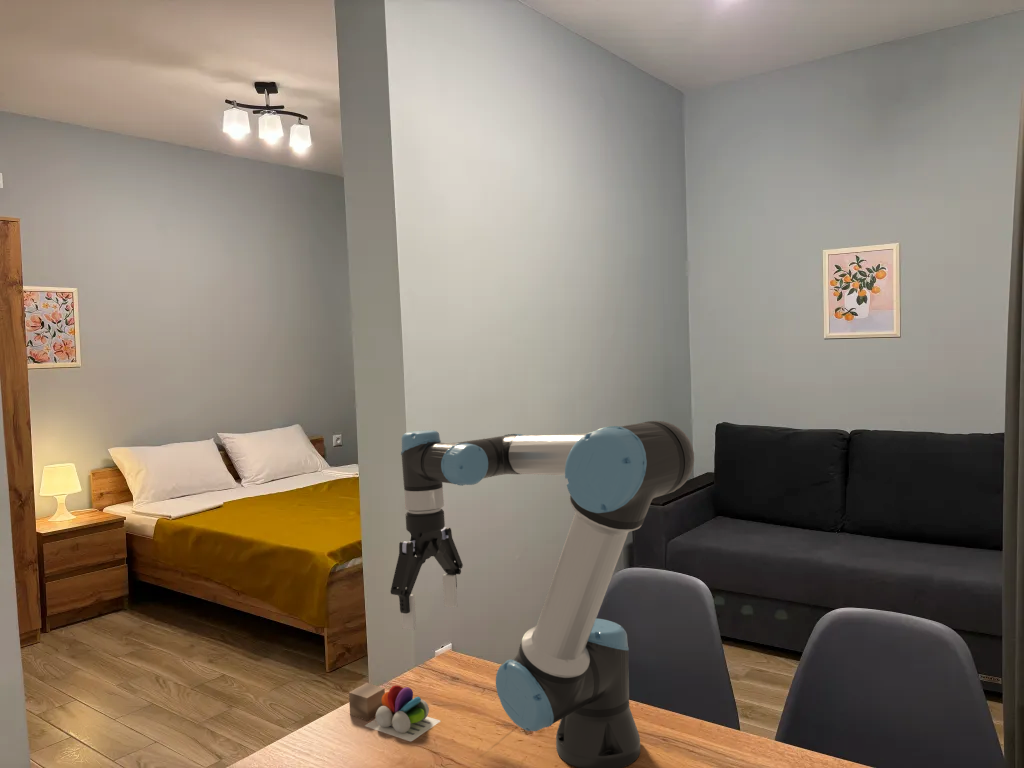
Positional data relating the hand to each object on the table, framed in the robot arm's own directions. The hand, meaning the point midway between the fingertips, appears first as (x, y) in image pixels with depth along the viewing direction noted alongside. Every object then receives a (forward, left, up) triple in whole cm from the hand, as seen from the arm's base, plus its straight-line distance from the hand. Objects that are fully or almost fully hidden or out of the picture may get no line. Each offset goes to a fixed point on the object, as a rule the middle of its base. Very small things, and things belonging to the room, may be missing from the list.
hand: (430, 617), depth 148 cm
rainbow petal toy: (+4, +5, -21) cm, 21 cm away
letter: (+4, +4, -21) cm, 22 cm away
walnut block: (+14, +5, -21) cm, 25 cm away
